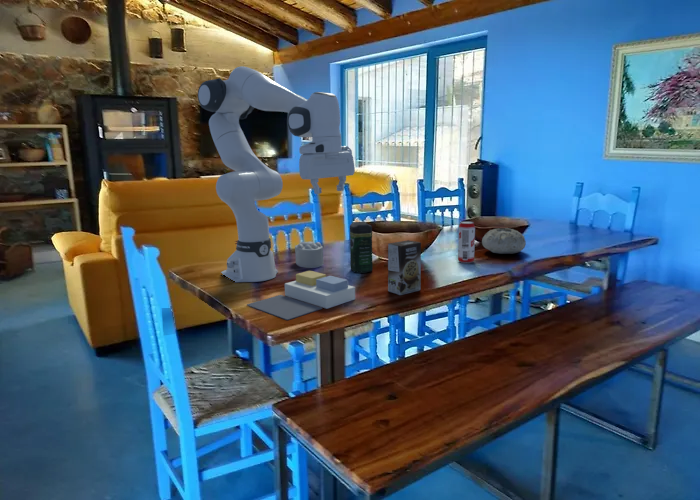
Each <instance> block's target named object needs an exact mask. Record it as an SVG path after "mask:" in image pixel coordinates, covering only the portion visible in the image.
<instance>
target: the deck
mask: <svg viewBox="0 0 700 500" xmlns="http://www.w3.org/2000/svg"><path fill="white" fill-rule="evenodd" d="M284 296H286V297H290V298H293V299H296V300H299V301H302V302H305V303H308V304H311V305H315V306H318V307H321V308H322V309H323V308H324V309H330V308H333V307H336V306H339V305H341V304H344V303H345V304H346V303H348V302H352V301H354V300H356V287H355V286H353V285H349V284H348V288H346V289H343V290H339V291H336V292H332V291H328V290H325V289H321V288H317V287H316V285H314V286H310V285H307V284H303V283H300V282H296V280H293V281H289V282H285V283H284Z"/></svg>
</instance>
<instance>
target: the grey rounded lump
mask: <svg viewBox="0 0 700 500" xmlns="http://www.w3.org/2000/svg"><path fill="white" fill-rule="evenodd" d="M481 239H482V240H481V244H482V246H483V248H485V249H486V250H488V251H490V252H491V253H493V254H500V255H503V254H504V255H505V254H506V255H508V254H509V255H510V254H511V255H513V254H517V253H520V252H521V251H524V249H525V247H526V245H527V244H526V243H527V242H526V239H525V236H524V235H523V234H522V233H521V232H519V231H518V230H516V229H514V228H508V227H507V228H506V227H505V228H493V229H489V231H487V232H486V233H485V234H484V236H482V238H481Z"/></svg>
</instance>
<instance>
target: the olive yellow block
mask: <svg viewBox="0 0 700 500" xmlns="http://www.w3.org/2000/svg"><path fill="white" fill-rule="evenodd" d="M323 277H327V274H326V273H321V272H318V271H313V270H306V271H303V272H299V273H296V274H295V281H296V282H300V283H303V284H307V285H310V286H314V285H316V279H320V278H323Z"/></svg>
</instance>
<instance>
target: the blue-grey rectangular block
mask: <svg viewBox="0 0 700 500" xmlns="http://www.w3.org/2000/svg"><path fill="white" fill-rule="evenodd" d="M348 285H349V280H348V279H345V278H341V277H337V276H333V275H328V276H327V275H326V277H323V278H320V279H316V287H317V288H321V289H325V290H328V291H332V292H336V291H339V290H343V289H346V288H348Z"/></svg>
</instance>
